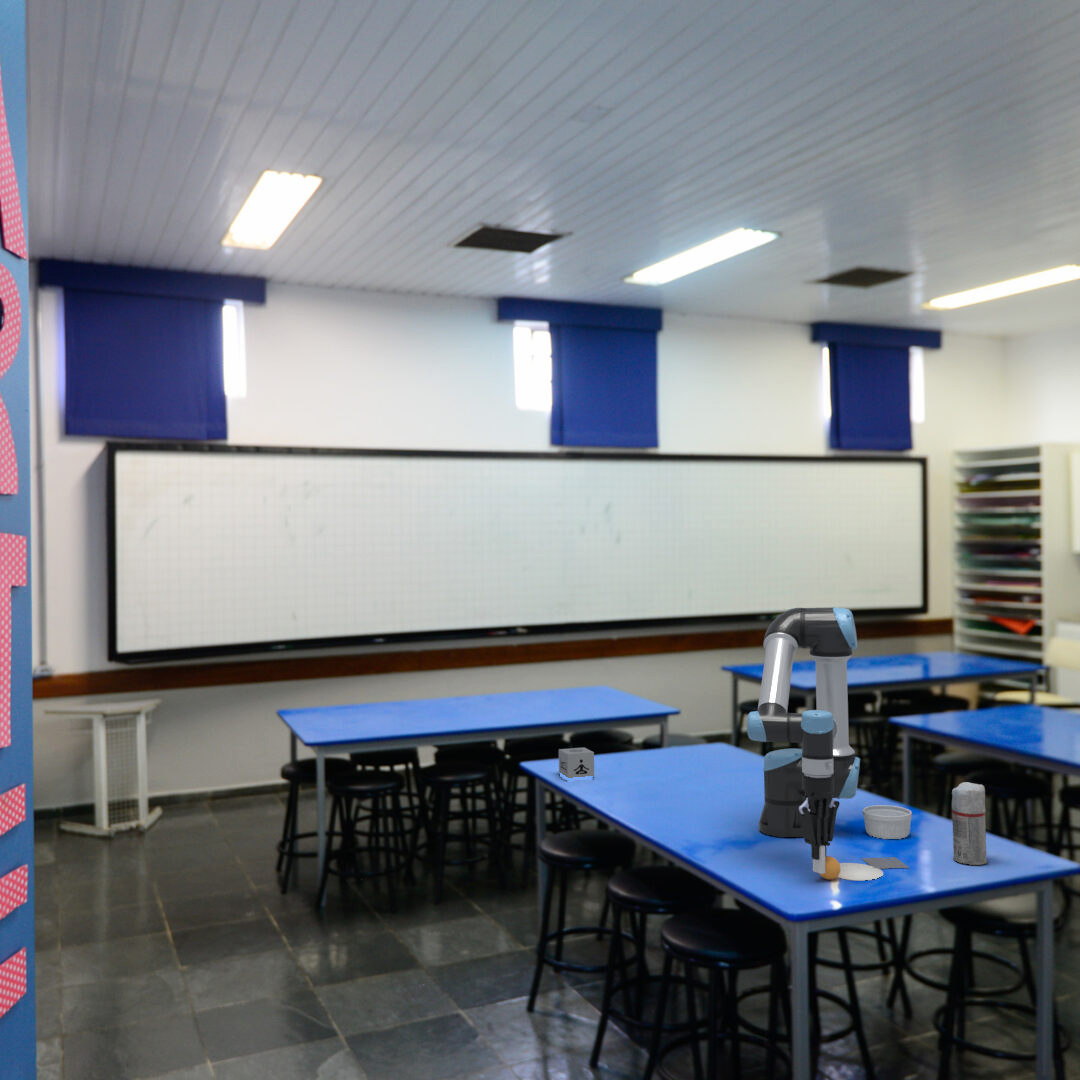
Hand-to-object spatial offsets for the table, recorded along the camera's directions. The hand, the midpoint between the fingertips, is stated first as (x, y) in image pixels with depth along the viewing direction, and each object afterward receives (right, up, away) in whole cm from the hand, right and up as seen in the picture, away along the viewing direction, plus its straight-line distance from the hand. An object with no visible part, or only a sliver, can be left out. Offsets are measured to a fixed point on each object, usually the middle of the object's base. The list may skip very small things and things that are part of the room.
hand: (819, 872), depth 247 cm
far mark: (+21, -2, +14) cm, 25 cm away
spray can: (+43, -2, +14) cm, 45 cm away
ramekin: (+31, -3, +41) cm, 51 cm away
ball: (+3, 0, +2) cm, 3 cm away
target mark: (+11, -2, +7) cm, 13 cm away
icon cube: (-55, -6, +121) cm, 133 cm away
